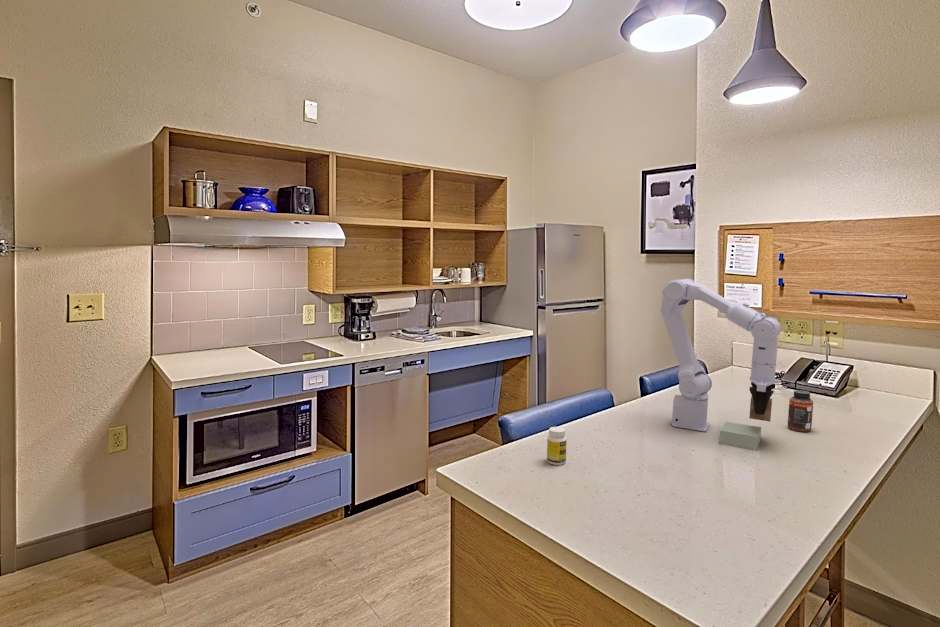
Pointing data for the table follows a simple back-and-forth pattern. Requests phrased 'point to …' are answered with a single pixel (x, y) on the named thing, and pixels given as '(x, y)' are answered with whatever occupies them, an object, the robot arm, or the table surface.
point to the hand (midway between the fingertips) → (760, 411)
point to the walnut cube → (758, 416)
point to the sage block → (740, 435)
